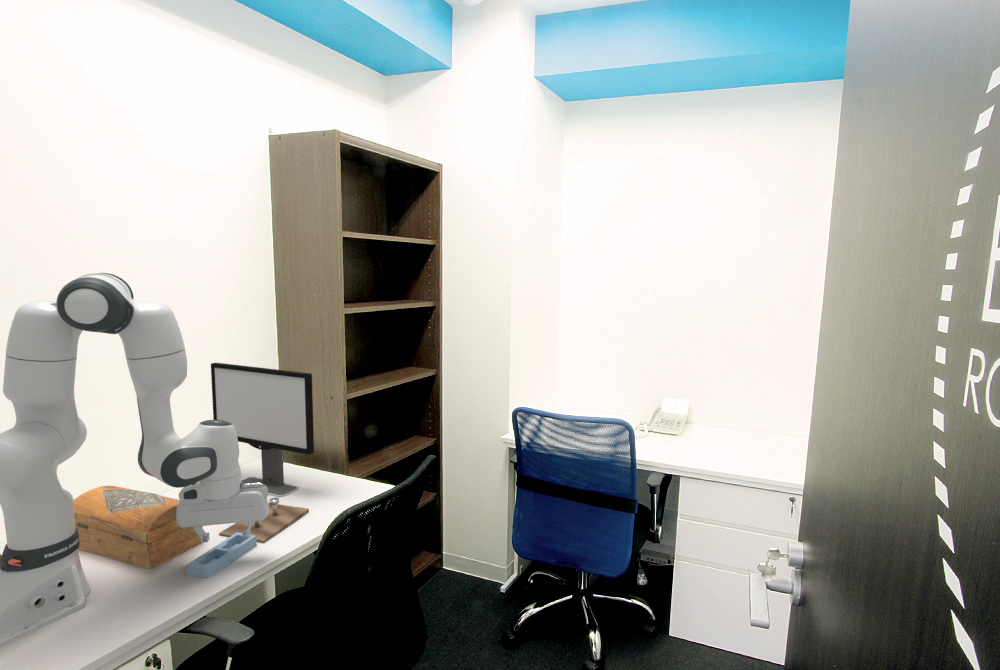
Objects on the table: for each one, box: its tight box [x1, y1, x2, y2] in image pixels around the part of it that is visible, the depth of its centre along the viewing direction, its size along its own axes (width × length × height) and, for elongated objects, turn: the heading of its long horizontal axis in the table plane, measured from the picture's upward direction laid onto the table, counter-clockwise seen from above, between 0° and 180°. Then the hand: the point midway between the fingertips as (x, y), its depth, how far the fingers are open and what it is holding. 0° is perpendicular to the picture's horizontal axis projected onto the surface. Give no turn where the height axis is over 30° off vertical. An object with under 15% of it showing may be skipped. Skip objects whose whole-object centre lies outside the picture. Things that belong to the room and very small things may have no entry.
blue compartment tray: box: [185, 533, 258, 579], centre depth 135 cm, size 6×16×3 cm, turn 165°
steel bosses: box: [255, 497, 280, 527], centre depth 154 cm, size 10×3×5 cm, turn 165°
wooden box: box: [73, 485, 202, 570], centre depth 141 cm, size 30×16×14 cm, turn 69°
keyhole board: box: [218, 502, 310, 544], centre depth 155 cm, size 20×14×1 cm
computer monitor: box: [210, 362, 315, 498], centre depth 178 cm, size 41×8×40 cm, turn 67°
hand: (226, 539), depth 134 cm, fingers open, 8 cm apart
